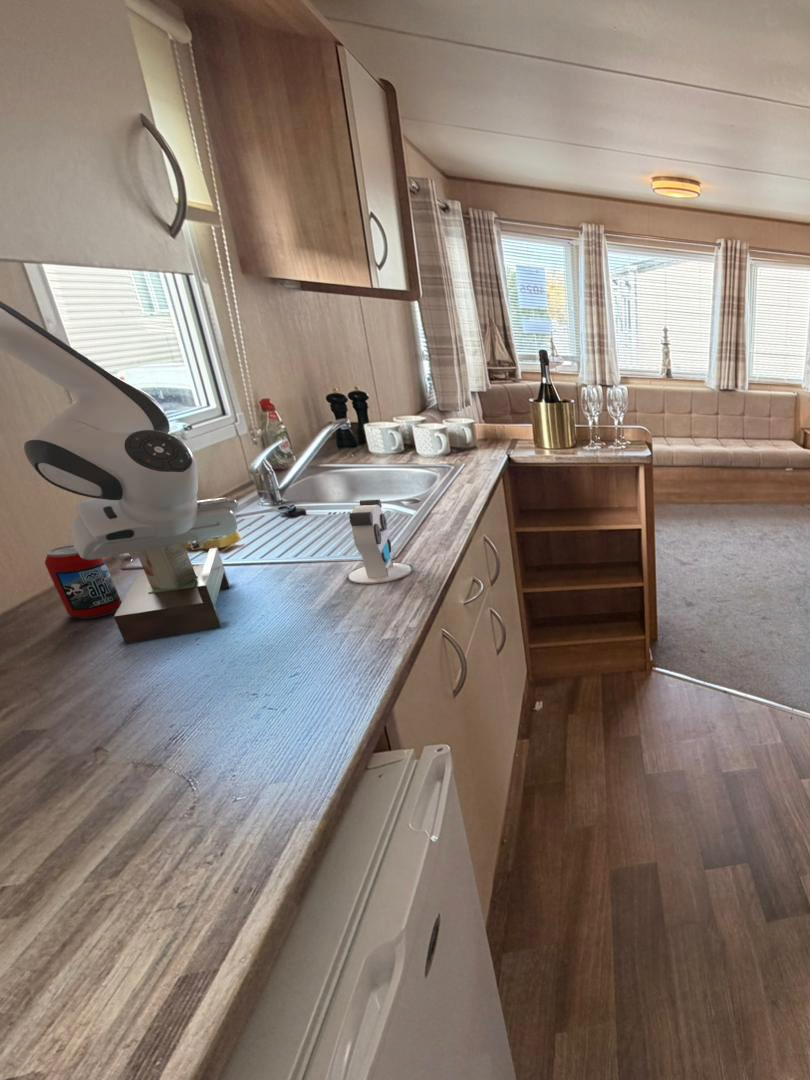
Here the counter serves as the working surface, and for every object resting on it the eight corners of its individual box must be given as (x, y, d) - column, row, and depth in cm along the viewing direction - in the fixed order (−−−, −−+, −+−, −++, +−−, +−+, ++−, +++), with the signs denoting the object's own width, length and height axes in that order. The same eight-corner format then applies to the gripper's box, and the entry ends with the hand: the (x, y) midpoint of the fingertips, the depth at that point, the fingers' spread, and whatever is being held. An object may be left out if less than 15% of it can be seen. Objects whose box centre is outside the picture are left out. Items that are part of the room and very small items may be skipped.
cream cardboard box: (172, 578, 116) (152, 525, 112) (198, 578, 117) (179, 525, 113) (148, 589, 111) (126, 534, 107) (176, 589, 112) (155, 535, 108)
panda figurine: (406, 581, 132) (391, 512, 126) (342, 587, 128) (323, 515, 122) (414, 562, 143) (401, 497, 136) (355, 566, 139) (338, 499, 132)
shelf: (125, 644, 104) (106, 599, 101) (147, 597, 120) (131, 557, 117) (221, 627, 111) (206, 585, 108) (230, 585, 127) (217, 547, 124)
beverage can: (88, 623, 110) (59, 558, 105) (59, 617, 111) (29, 553, 106) (134, 607, 116) (108, 545, 111) (106, 602, 117) (79, 541, 112)
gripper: (229, 482, 112) (225, 524, 120) (61, 505, 96) (70, 552, 104) (247, 511, 111) (242, 552, 120) (81, 539, 95) (88, 583, 104)
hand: (160, 552), depth 112 cm, fingers open, 8 cm apart
